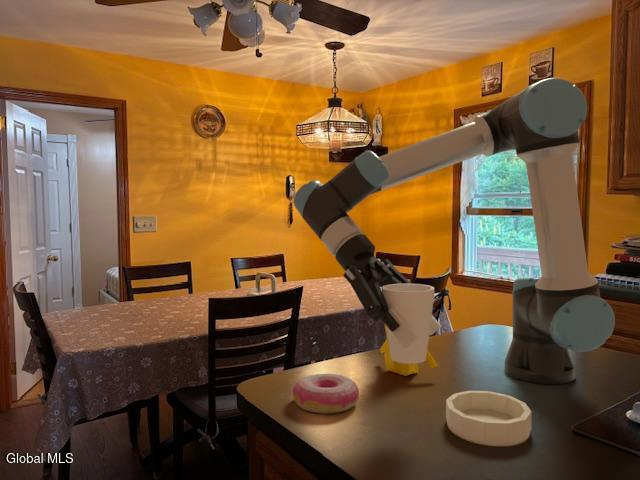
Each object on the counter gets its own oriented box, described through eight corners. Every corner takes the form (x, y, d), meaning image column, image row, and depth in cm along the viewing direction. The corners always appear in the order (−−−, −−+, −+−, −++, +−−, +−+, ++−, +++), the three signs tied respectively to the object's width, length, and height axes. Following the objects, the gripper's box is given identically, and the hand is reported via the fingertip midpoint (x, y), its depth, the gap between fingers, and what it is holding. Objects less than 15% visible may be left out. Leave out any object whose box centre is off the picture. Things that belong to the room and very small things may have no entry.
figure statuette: (442, 378, 111) (442, 284, 109) (421, 386, 106) (421, 288, 104) (386, 360, 124) (385, 277, 123) (364, 367, 119) (364, 280, 118)
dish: (517, 412, 91) (517, 392, 91) (540, 448, 77) (541, 424, 77) (442, 409, 93) (442, 389, 93) (452, 444, 79) (452, 421, 79)
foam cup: (435, 367, 81) (435, 292, 80) (380, 365, 83) (380, 291, 82) (433, 351, 90) (433, 283, 89) (384, 349, 92) (383, 283, 91)
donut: (369, 413, 92) (369, 388, 92) (303, 423, 89) (302, 397, 88) (346, 389, 105) (345, 367, 105) (287, 396, 101) (286, 373, 101)
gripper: (367, 253, 104) (436, 335, 95) (302, 263, 86) (379, 365, 77) (388, 229, 100) (461, 312, 91) (325, 235, 82) (408, 338, 74)
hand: (424, 336), depth 84 cm, fingers closed on foam cup, 9 cm apart
